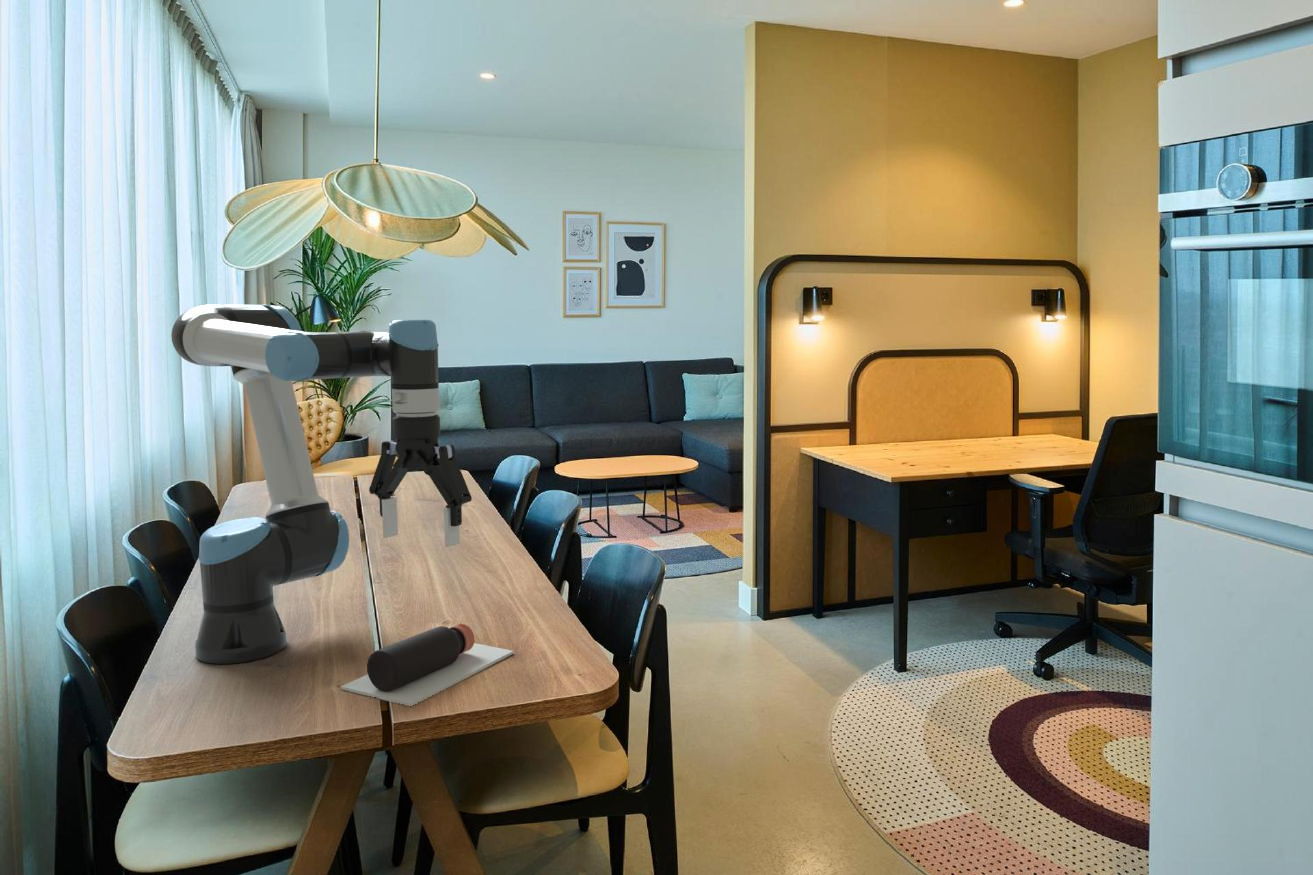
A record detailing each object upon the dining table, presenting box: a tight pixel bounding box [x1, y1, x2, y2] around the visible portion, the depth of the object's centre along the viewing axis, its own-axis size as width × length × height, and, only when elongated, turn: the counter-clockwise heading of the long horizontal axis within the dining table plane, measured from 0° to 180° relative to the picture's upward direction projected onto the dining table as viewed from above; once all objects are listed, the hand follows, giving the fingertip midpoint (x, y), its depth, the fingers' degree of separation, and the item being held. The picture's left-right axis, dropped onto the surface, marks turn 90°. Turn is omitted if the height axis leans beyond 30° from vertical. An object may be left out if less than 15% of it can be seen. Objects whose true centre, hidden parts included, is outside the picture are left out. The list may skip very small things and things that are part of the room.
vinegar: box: [366, 623, 475, 692], centre depth 156 cm, size 7×7×20 cm
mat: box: [340, 642, 514, 707], centre depth 158 cm, size 15×26×1 cm, turn 152°
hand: (420, 540), depth 154 cm, fingers open, 13 cm apart
